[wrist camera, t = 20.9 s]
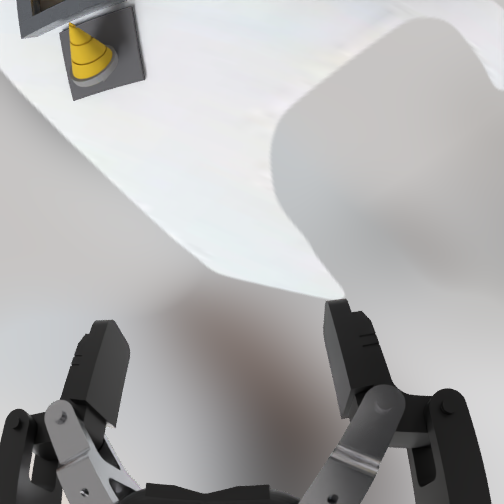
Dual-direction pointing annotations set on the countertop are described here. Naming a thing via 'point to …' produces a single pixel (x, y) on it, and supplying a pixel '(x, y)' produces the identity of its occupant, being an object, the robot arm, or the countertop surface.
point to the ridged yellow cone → (89, 58)
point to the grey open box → (54, 14)
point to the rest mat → (121, 39)
